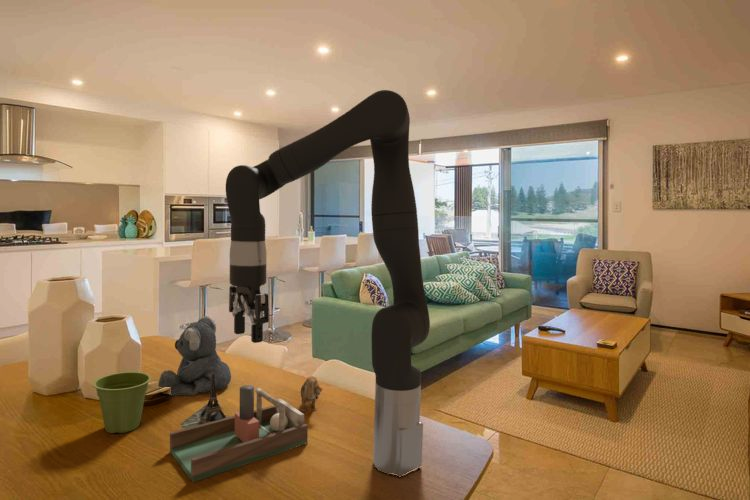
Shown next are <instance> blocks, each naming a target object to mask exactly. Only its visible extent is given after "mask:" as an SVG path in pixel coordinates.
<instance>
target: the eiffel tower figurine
mask: <svg viewBox="0 0 750 500" xmlns="http://www.w3.org/2000/svg"><path fill="white" fill-rule="evenodd" d="M214 373H215V372H214V370H212V384H211V391H210V395H209V396H208V397H209V399H208V402H207V404H205V405H204V406H202V407H201V408H200V409H199V410H197V411H196V412H194V413H193V414H192V415H191V416H189V417H188V418H187V419H185V420H184V421H183V422H182V423H180V427H181V428H182V429H186V428H189V427H193V426H197V425H201V424H205V423H208V422H212V421H216V420H220V419H224V418H227V417H228V416H227V415H226V414H225V413H224V412H223V410H222V409H221V408H222V407H221V405H220V403H219V401H218V399H217V398H218V397H217V393H216V391H217V390H215V379H214ZM224 414H225V415H224Z"/></svg>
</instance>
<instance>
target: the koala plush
mask: <svg viewBox="0 0 750 500" xmlns="http://www.w3.org/2000/svg"><path fill="white" fill-rule="evenodd" d="M216 332H217V323H216V322H215V321H214V319H212V318H211V317H210V316H207V315H204V316H202V317H200V318H198V320H197V321H196V322H193V323H190V324H189V325H187V326H186V328H185V329H184V330H183V332H182V333H181V334H180V336H179V339H176V340H175V342H174V348H175V349H176V351H178V354H179V355H180V356H181V357H182V359H180V360H181V361H180V363H179V367H178V368H177V372H174V371H173V370H170V369H168V370H164V371H162V372H161V374H160V376H159V380H158V386H159V387H171V394H172V395H171V396H191V397H192V396H193V397H194V396H196V395H198V394H199V393H202V394H206V393H208V392H211V384H212V370H214V372H215V373H214V379H215V391H219V390H224V389H225V388H226V387H228V386H229V384H230V382H231V381H232V374H231V369H230V367H229V365H228V364H227V363H226V362H224V361H222V360H221V357H220V356H219V354H218V352H217V350H216V349H217V337H216V336H217V335H216ZM158 386H157V387H158Z"/></svg>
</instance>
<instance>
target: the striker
mask: <svg viewBox="0 0 750 500" xmlns="http://www.w3.org/2000/svg"><path fill="white" fill-rule="evenodd" d="M254 410H255V386H253V385H250V384H248V385H247V384H246V385H242V386H240V387H239V411H236V412H234V416H235V435H236V436H237V437H238V438H239V439H240V440H241V441H242V442H243V443H244V442H247V441H250V440H254V439H257V438H259V421H258V420H257V419H256V418H254Z"/></svg>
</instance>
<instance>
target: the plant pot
mask: <svg viewBox="0 0 750 500" xmlns="http://www.w3.org/2000/svg"><path fill="white" fill-rule="evenodd" d="M151 379H152V376H151V375H150V374H149V373H146V372H140V371H123V372H116V373H111V374H106V375H105V376H104V375H103V376H101V377H99V378H97V379H95V381H93V383H92V385H93V388H95V390H96V395H97V397H98V400H99V404H100V405H99V406H100V409H101V410H100V411H101V416H102V420H103V426H104V429H105V432H107V433H110V434H116V433H120V434H123V433H128V432H132V431H134V430H136V429H137V428H139V425H141V419H142V414H143V409H144V403H145V397H146V392H147V390H148V386H149V383H150V381H151Z"/></svg>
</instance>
